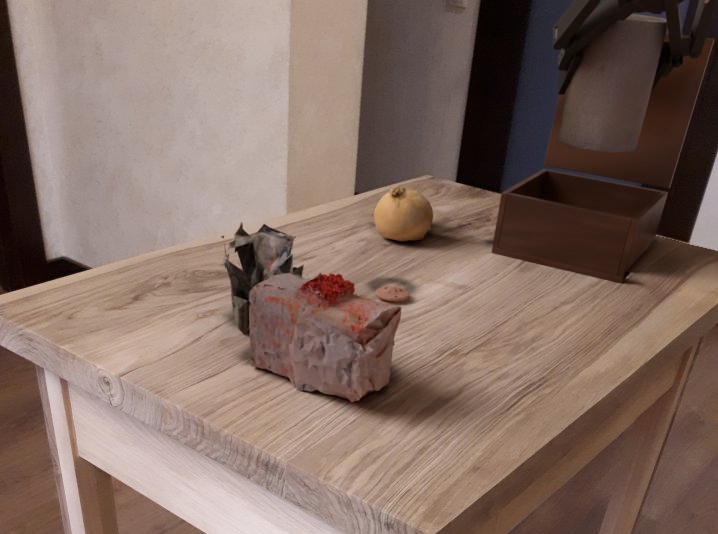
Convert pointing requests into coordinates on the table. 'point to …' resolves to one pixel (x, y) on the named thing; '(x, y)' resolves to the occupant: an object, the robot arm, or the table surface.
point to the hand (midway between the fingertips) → (602, 87)
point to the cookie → (392, 293)
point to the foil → (257, 265)
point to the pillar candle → (613, 86)
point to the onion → (403, 215)
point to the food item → (322, 334)
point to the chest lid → (642, 131)
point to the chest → (578, 223)
